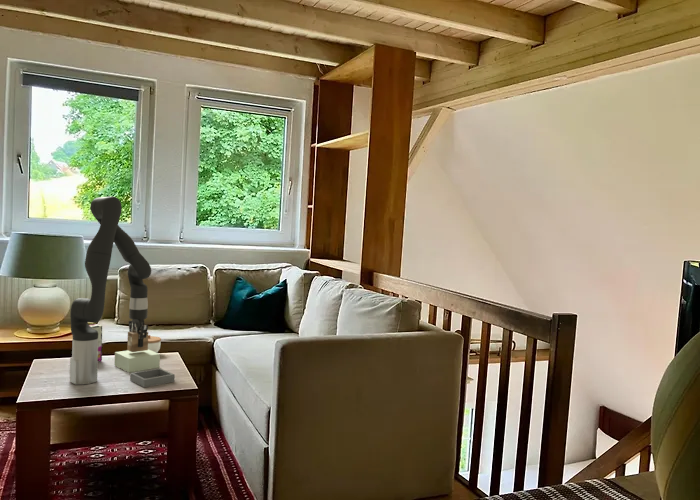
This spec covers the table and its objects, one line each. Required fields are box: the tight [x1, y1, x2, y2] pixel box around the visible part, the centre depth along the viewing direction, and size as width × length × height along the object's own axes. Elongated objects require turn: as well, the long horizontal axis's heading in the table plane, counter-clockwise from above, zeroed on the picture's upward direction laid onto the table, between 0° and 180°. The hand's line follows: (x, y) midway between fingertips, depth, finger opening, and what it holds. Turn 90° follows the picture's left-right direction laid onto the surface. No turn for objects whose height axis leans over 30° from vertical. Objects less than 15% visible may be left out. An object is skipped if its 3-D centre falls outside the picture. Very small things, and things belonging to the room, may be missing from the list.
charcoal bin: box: [129, 367, 175, 388], centre depth 230 cm, size 13×12×3 cm
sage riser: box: [114, 349, 161, 373], centre depth 250 cm, size 14×14×6 cm
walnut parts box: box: [126, 331, 149, 352], centre depth 250 cm, size 5×7×8 cm
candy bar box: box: [88, 323, 103, 362], centre depth 253 cm, size 11×5×16 cm, turn 143°
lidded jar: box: [148, 334, 162, 353], centre depth 272 cm, size 11×11×9 cm
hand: (137, 345), depth 250 cm, fingers closed on walnut parts box, 4 cm apart
